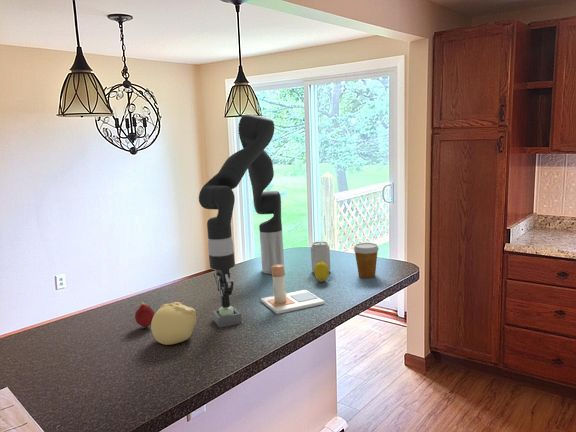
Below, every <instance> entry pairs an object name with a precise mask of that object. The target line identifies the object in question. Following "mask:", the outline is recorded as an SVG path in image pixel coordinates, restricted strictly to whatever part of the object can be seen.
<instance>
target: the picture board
mask: <svg viewBox="0 0 576 432" xmlns="http://www.w3.org/2000/svg"><path fill="white" fill-rule="evenodd" d="M286 299H287V301H286V302H284V303H275V300H274V295H273V296H266V297H261V298H260V302H261V303H263V304H264V305H265V306H266V307H267V308H268V309H270V310H271V311H272V312H274V313H275V314H276V315H279V314H284V313H288V312H294V311H297V310H302V309H307V308H312V307H316V306H320V305H324V304H325V300H324V299H322V298H320V297H318V296H317V295H315V294H314V293H312V292H310V291H309V290H307V289H300V290H296V291H291V292H286Z"/></svg>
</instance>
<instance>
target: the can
mask: <svg viewBox="0 0 576 432" xmlns="http://www.w3.org/2000/svg"><path fill="white" fill-rule="evenodd" d="M330 252H331V251H330V245H329V244H328V242H327V241H314V242H312V243H311V246H310V259H311V262H310V263H311V271H312V272H313V273H314V268H315V265H316V264H317V263H319V262H320V261H322V262H324V263H326V264H327V266H328V269H329V272H330V271H331V253H330Z"/></svg>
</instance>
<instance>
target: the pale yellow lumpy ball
mask: <svg viewBox="0 0 576 432" xmlns="http://www.w3.org/2000/svg"><path fill="white" fill-rule="evenodd" d="M154 313H155V315H154V316H153V319H152V322H151V324H150V330H151V333H152V336H153V338H154V339H155V340H156V342H158V343H159V344H162V345H165V346H168V345H176V344H179V343H182V342H185V341H187V340H188V339H189V338H190V337H191V335H192V334H193V330H194V327H195V325H196V324H197V310H195V308H194V307H190V306H187V305H185V304H183V303H182V302H180V301H173V302H170V303H163V304H162V305H160V306H159V309H158V310H156V312H154Z"/></svg>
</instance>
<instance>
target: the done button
mask: <svg viewBox="0 0 576 432" xmlns="http://www.w3.org/2000/svg"><path fill="white" fill-rule="evenodd" d="M233 307H234V306H232V305H230V307H227V308H223V307H222V306H220V307H219V308H218V310H219V316H220V317H222V316H227V315H232V314H234V311H233Z"/></svg>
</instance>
